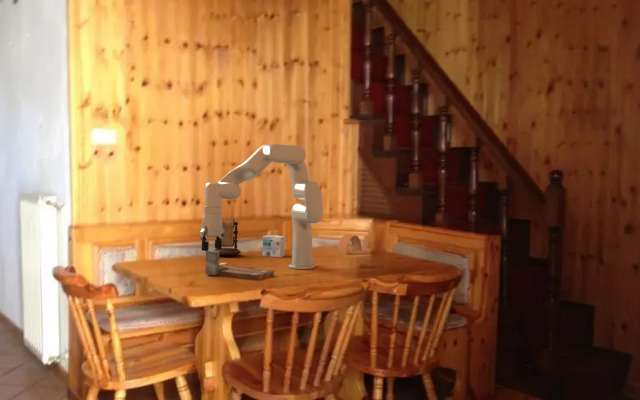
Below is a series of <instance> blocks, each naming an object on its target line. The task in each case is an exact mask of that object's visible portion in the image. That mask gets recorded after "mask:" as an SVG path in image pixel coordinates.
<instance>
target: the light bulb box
mask: <svg viewBox="0 0 640 400" xmlns="http://www.w3.org/2000/svg"><path fill="white" fill-rule="evenodd" d="M285 249H286V236H285V235H272V234H266V235H263V236H262V256H263V257H272V258H274V257H275V258H282V257H284V256H286V255H285V253H286V250H285Z"/></svg>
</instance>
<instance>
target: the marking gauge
mask: <svg viewBox="0 0 640 400" xmlns="http://www.w3.org/2000/svg"><path fill="white" fill-rule="evenodd" d="M228 266H229V262H220V257H219V251H213V250H209V249H208V251H205V271H204V272H205V275H210V274H212V276H217V275H216V274H219V269H224V268H228Z"/></svg>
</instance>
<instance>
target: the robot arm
mask: <svg viewBox="0 0 640 400" xmlns="http://www.w3.org/2000/svg"><path fill="white" fill-rule="evenodd" d="M306 156H307V154H306V151H305V149H304V148H303V147H302V146H301V145H292V144H281V143H280V144H279V143H265V144H263V145H262V144H261V146H260V147H258V149H256V151H255V152H254V153H252V155H251V156H250V157H248V158H247V159H246V160H245V161H244V162H243V163H242V164H240V165H239V166H237V167H235V168H233V169H232V170H230V171H229V172H228V173H227V174H225V175H224V176H223V177H222V178H221V179H220V180H219V181H218V182H207V183H205V185H204V210H203V212H204V213H203V214H202V215H203V216H202V218H201V219H202V220H201V226H200V228H201V229H200V231H199V238H200V241H201V251H204V252H206V251H209V249H210V248H209V246H210V244H209V239H210V238H215V239H214V250H215V249H221V248H222V247H221V245H222V239H223V238H222V237H223V235H224V231H225V230H224V229H223V228H222V221H223V216H222V215H223V214H222V212H223V200H230V201H231V200H232V201H233V200H236V199H238V198H240V196H241V195H242V189H241V187H240V185H241V184H242V183H244V182H247V181H250V180H253V179H255V178H257V177H258V176H259V175H260V174H261V173H262V172H263V171H264V170H265V169H266V168H267V167H268V166H269V165H271V163H273V164H275V163H277V164H284V165H285V166H286V167H287V169H288V171H289V175H290V185H291V194H292V196H293V197H294V198H295V199H297V200H301V201H298V202H295V204H294V205H293V206H292V207H291V211H290V214H291V215H290V216H291V221H292V239H291V240H292V243H291V263H289V264H288V268H290V269H296V270H312V269H315V264H313V263H312V262H315V258H314V257H313V256H312V255H313V226H312V224H319V222H321V220H322V219H323V217H324V204H323V195H322V194H323V193H322V188H321V186H320V184H319V183H318V182H317V181H315V180H310V179H309V173H308V171H309V170H308V166H307V164H306V161H305V160H306Z"/></svg>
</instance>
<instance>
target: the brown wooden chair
mask: <svg viewBox="0 0 640 400" xmlns="http://www.w3.org/2000/svg"><path fill="white" fill-rule="evenodd" d="M238 225H239V223H238V221H235V218H234V217H233V218H232V221H230V220H227V221H226V220H225V221H223V220H222V228H223V229H224V230H225V231H224V235H223V237H222V238H223V239H222V245H221V249H215V248H214V250H212V251H219V258H220V256H235V257H236V258H238V256H239V255H240V254H241V253H242V251H241V250H240V249H239V248H238V240H239V239H238V233H239V230H238ZM233 247H234V248H233Z"/></svg>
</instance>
